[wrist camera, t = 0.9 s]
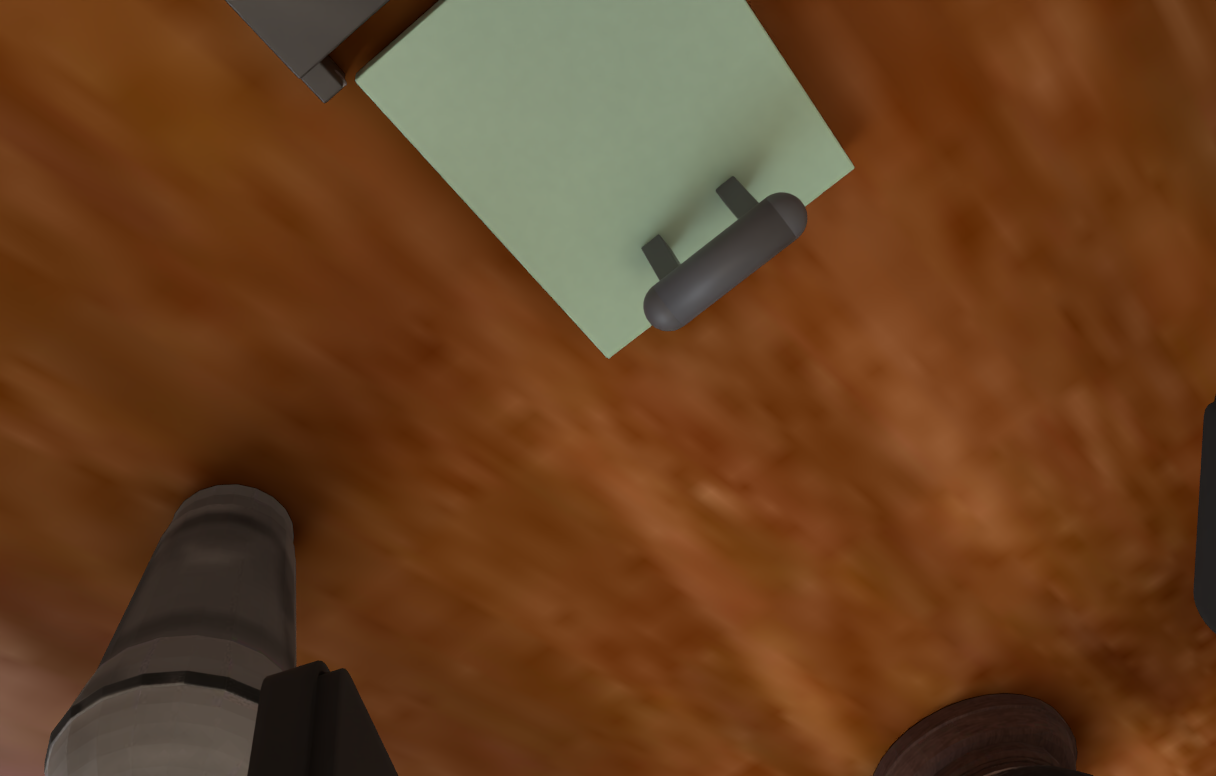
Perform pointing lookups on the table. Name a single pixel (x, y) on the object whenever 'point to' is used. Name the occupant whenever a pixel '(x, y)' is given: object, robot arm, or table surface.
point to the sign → (614, 145)
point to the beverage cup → (191, 647)
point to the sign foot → (307, 34)
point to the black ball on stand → (986, 741)
